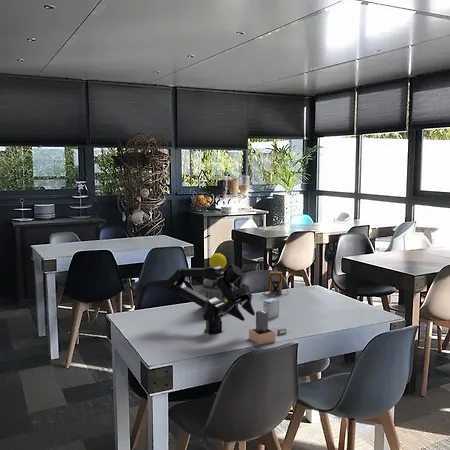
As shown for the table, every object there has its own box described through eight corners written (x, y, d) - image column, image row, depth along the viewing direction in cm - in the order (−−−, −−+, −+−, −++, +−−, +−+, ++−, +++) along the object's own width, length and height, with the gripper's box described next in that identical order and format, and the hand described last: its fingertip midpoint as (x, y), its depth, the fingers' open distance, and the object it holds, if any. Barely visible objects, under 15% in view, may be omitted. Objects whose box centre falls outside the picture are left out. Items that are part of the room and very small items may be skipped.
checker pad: (273, 337, 216) (273, 331, 216) (261, 330, 225) (261, 325, 225) (292, 333, 221) (292, 328, 221) (279, 327, 230) (279, 322, 230)
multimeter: (262, 296, 290) (262, 262, 288) (263, 292, 300) (264, 260, 298) (287, 297, 287) (287, 263, 286) (288, 293, 297) (288, 260, 295)
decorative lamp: (242, 310, 261) (242, 253, 258) (212, 315, 250) (212, 257, 247) (222, 302, 276) (222, 249, 273) (193, 307, 265) (193, 252, 262)
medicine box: (271, 314, 252) (272, 297, 251) (279, 316, 249) (279, 299, 248) (263, 317, 246) (263, 300, 245) (270, 319, 243) (270, 302, 242)
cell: (256, 341, 209) (256, 312, 208) (255, 337, 214) (255, 309, 213) (268, 341, 209) (268, 313, 208) (267, 337, 214) (267, 309, 213)
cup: (258, 345, 206) (258, 334, 206) (248, 339, 213) (248, 329, 213) (275, 342, 210) (275, 331, 209) (265, 336, 217) (265, 326, 217)
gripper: (227, 282, 207) (250, 311, 202) (248, 274, 223) (270, 302, 218) (212, 298, 212) (234, 327, 207) (233, 289, 228) (254, 316, 223)
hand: (249, 317), depth 214 cm, fingers open, 9 cm apart
